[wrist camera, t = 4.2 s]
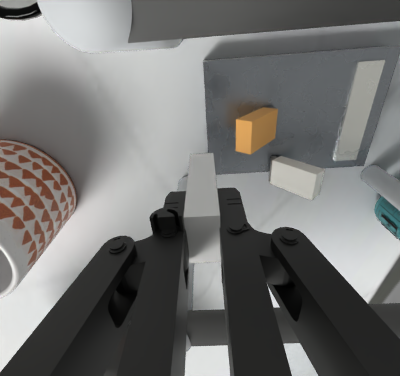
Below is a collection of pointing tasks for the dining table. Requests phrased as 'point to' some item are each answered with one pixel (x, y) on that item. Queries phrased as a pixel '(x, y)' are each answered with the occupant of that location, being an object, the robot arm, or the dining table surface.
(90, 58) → the dining table surface
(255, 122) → the amber brick
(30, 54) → the dining table surface
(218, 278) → the dining table surface
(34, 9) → the mug
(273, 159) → the off-white eraser brick
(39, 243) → the planter
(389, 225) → the beverage bottle
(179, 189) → the cord rack
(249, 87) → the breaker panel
